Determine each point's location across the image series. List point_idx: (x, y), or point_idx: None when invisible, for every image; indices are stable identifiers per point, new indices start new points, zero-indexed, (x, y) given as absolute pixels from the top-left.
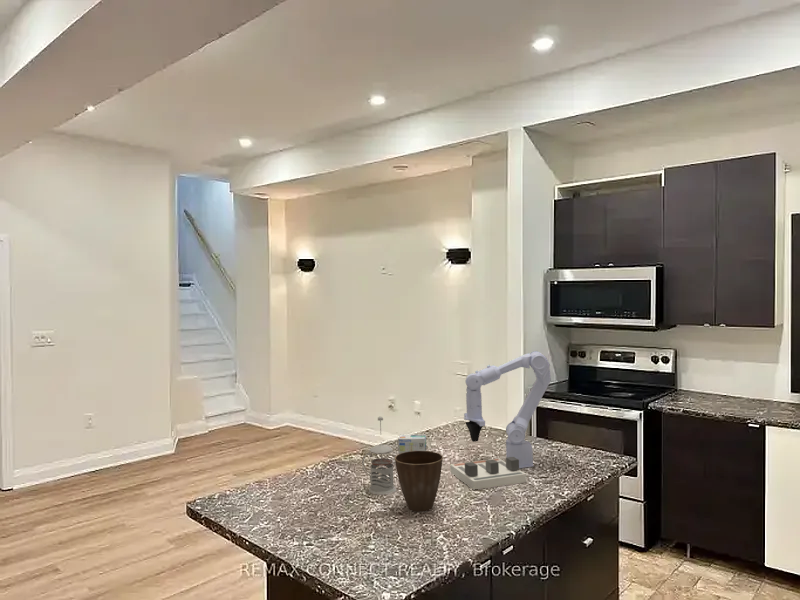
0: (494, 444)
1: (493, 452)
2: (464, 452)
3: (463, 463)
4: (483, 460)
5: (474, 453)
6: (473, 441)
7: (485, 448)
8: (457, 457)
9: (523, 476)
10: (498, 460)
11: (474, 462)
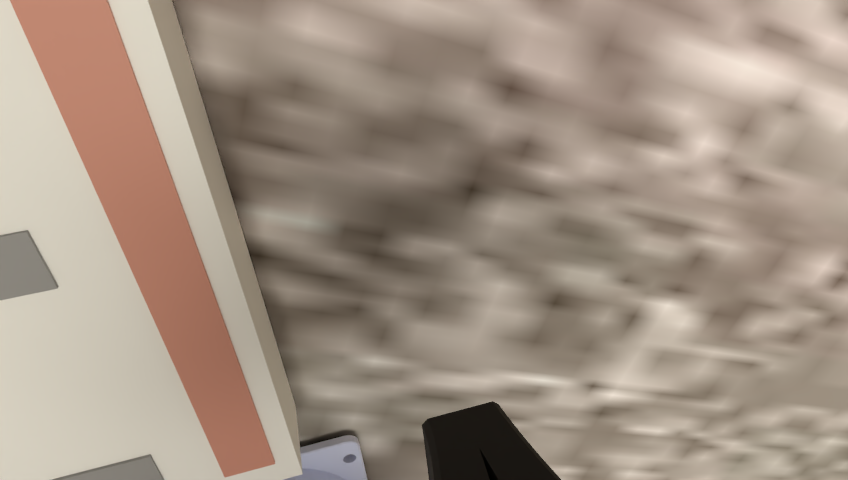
0: (822, 424)
1: (673, 402)
2: (820, 188)
3: (89, 7)
4: (242, 328)
5: (739, 267)
6: (425, 427)
7: (791, 364)
8: (732, 75)
9: None
10: (213, 465)
11: (139, 204)
